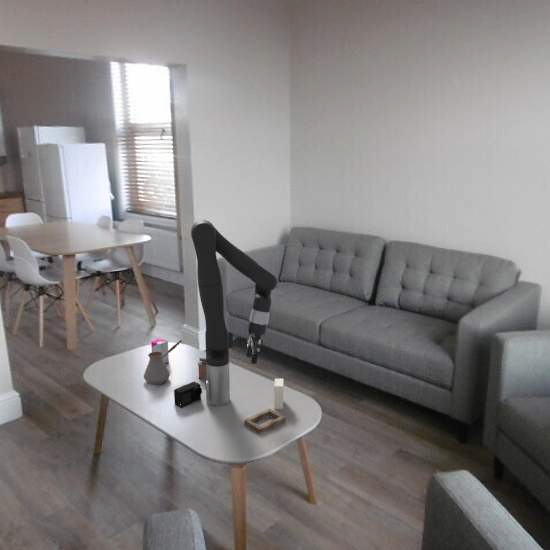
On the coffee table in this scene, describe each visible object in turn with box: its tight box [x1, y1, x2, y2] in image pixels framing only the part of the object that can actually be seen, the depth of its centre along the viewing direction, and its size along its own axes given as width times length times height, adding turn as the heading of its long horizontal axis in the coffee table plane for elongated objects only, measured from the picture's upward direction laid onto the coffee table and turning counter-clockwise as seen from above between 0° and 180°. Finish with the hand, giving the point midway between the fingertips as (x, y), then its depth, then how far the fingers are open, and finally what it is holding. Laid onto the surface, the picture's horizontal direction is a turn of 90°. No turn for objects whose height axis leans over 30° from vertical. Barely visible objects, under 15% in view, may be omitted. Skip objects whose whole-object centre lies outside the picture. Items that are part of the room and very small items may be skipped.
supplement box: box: [150, 338, 170, 365], centre depth 251 cm, size 6×6×12 cm
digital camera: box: [173, 381, 203, 409], centre depth 215 cm, size 10×5×7 cm, turn 136°
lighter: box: [197, 357, 207, 381], centre depth 235 cm, size 8×3×10 cm, turn 74°
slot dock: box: [243, 407, 286, 435], centre depth 200 cm, size 13×9×2 cm
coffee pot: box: [143, 339, 184, 386], centre depth 236 cm, size 21×12×15 cm, turn 141°
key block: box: [273, 378, 284, 410], centre depth 213 cm, size 4×7×10 cm, turn 178°
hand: (251, 360), depth 211 cm, fingers open, 8 cm apart
